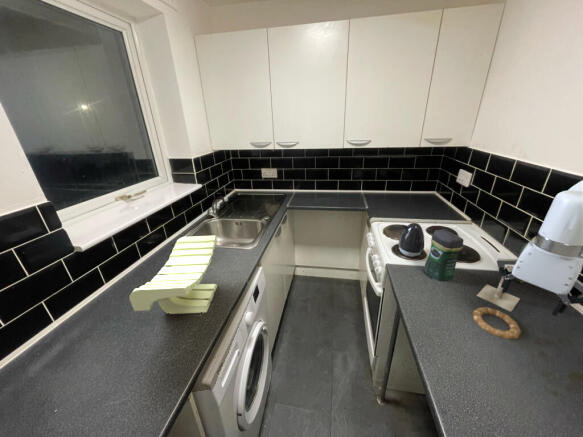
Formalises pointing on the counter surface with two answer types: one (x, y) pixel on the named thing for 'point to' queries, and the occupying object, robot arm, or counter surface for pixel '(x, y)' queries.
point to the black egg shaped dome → (412, 240)
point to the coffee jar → (443, 255)
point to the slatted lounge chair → (180, 279)
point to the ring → (510, 334)
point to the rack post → (499, 295)
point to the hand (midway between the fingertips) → (528, 301)
